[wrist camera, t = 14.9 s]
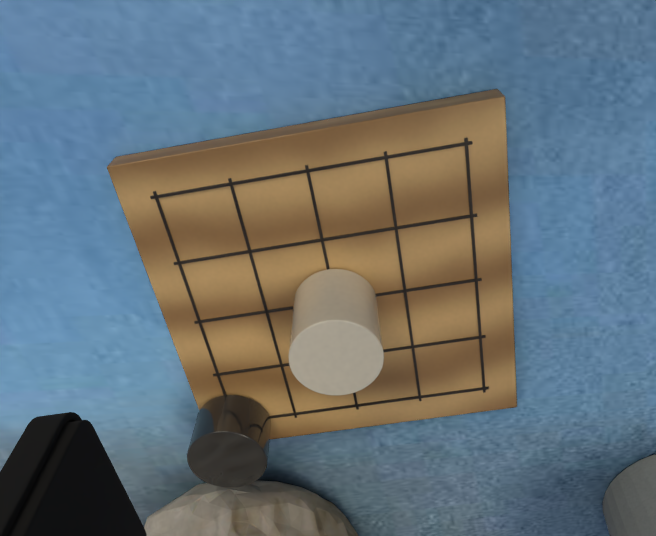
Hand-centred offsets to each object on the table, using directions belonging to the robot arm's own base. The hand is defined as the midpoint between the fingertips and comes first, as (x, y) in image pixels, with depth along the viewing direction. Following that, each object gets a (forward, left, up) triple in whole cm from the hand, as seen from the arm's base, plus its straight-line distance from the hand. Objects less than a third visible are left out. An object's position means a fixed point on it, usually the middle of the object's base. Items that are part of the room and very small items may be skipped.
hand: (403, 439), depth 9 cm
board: (+12, -3, -24) cm, 27 cm away
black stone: (+20, -11, -23) cm, 32 cm away
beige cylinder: (+12, -3, -23) cm, 26 cm away
